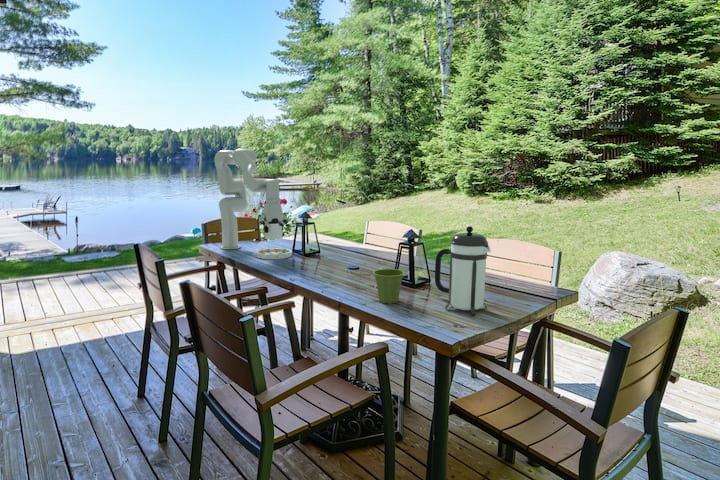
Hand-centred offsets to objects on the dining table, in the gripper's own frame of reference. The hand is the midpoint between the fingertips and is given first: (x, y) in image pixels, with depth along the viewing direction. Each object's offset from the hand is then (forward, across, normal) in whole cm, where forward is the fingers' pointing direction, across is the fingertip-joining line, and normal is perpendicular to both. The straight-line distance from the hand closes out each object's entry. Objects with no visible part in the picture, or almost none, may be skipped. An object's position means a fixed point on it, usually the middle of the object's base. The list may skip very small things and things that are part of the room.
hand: (273, 231), depth 246 cm
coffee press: (+16, -12, +126) cm, 128 cm away
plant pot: (+15, +3, +104) cm, 105 cm away
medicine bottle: (+4, 0, 0) cm, 4 cm away
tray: (+14, 0, 0) cm, 14 cm away
